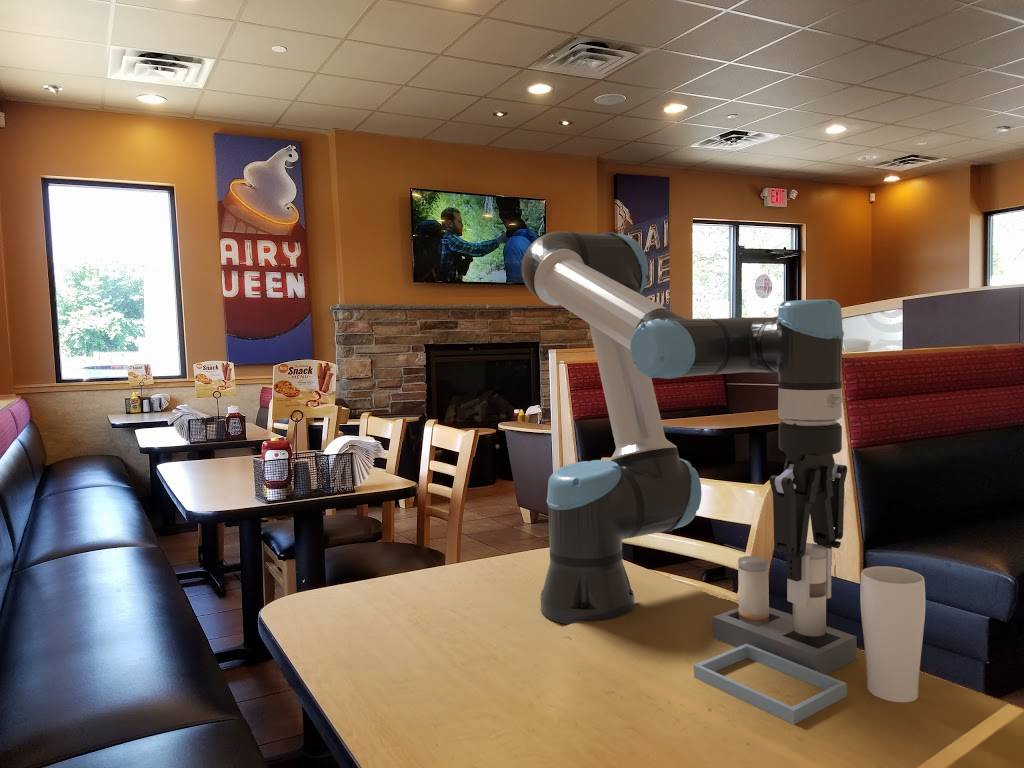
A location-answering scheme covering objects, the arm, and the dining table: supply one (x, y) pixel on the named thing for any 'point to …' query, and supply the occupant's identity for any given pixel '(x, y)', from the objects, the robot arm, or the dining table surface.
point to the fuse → (753, 590)
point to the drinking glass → (892, 630)
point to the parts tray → (795, 714)
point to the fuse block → (788, 640)
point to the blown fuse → (813, 596)
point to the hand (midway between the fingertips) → (809, 598)
